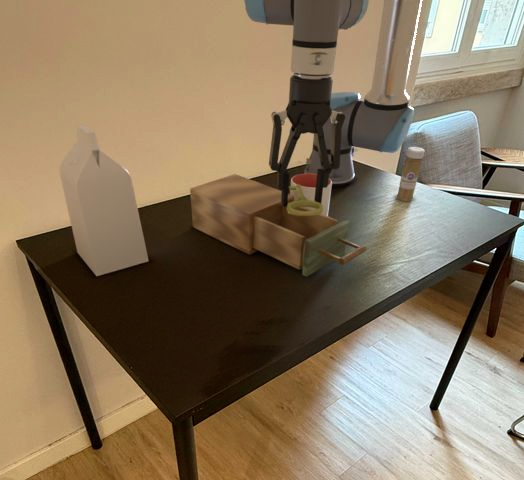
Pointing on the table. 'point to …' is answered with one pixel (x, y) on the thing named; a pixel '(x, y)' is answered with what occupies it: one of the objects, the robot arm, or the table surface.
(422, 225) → the table surface
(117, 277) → the table surface
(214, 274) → the table surface
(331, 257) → the drawer
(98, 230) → the milk
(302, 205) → the key
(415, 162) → the sprinkles bottle
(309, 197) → the cup
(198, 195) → the cabinet
